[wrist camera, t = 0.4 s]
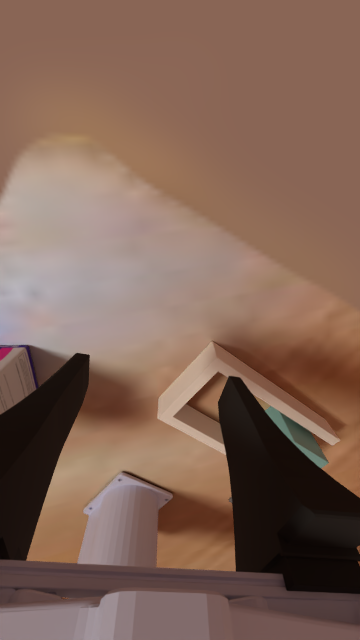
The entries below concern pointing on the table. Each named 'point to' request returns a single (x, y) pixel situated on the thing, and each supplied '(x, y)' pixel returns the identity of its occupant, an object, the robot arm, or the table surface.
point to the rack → (220, 360)
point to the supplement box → (15, 375)
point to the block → (298, 436)
